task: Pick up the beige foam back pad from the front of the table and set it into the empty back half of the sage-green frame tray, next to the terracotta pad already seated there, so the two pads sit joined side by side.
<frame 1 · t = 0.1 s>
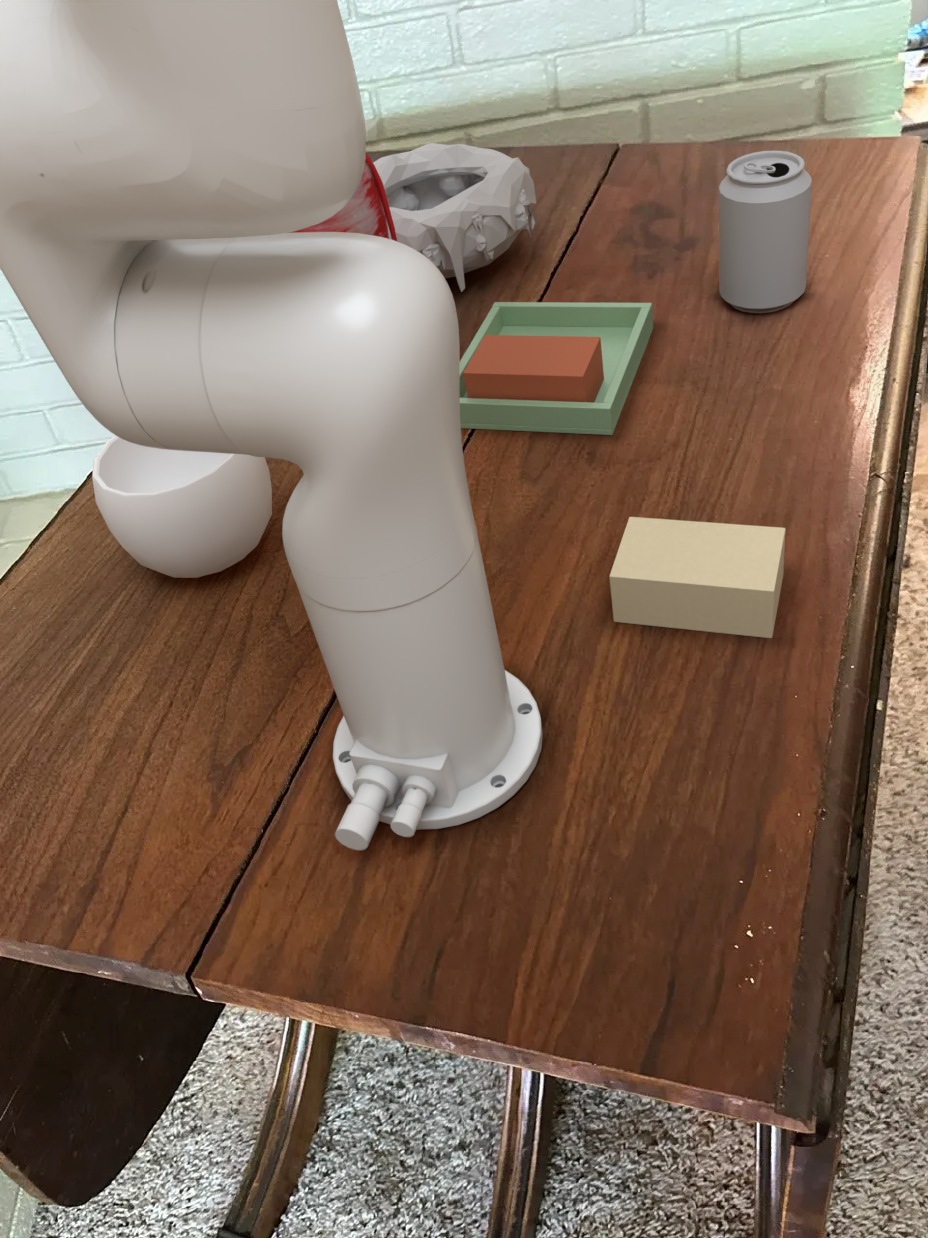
cup: (213, 553, 83), on the table
pad beige: (698, 598, 71), on the table
frame: (550, 376, 93), on the table
bowl: (442, 269, 112), on the table
can: (762, 298, 97), on the table
pad terracotta: (537, 396, 90), resting on frame
water bottle: (368, 410, 95), on the table
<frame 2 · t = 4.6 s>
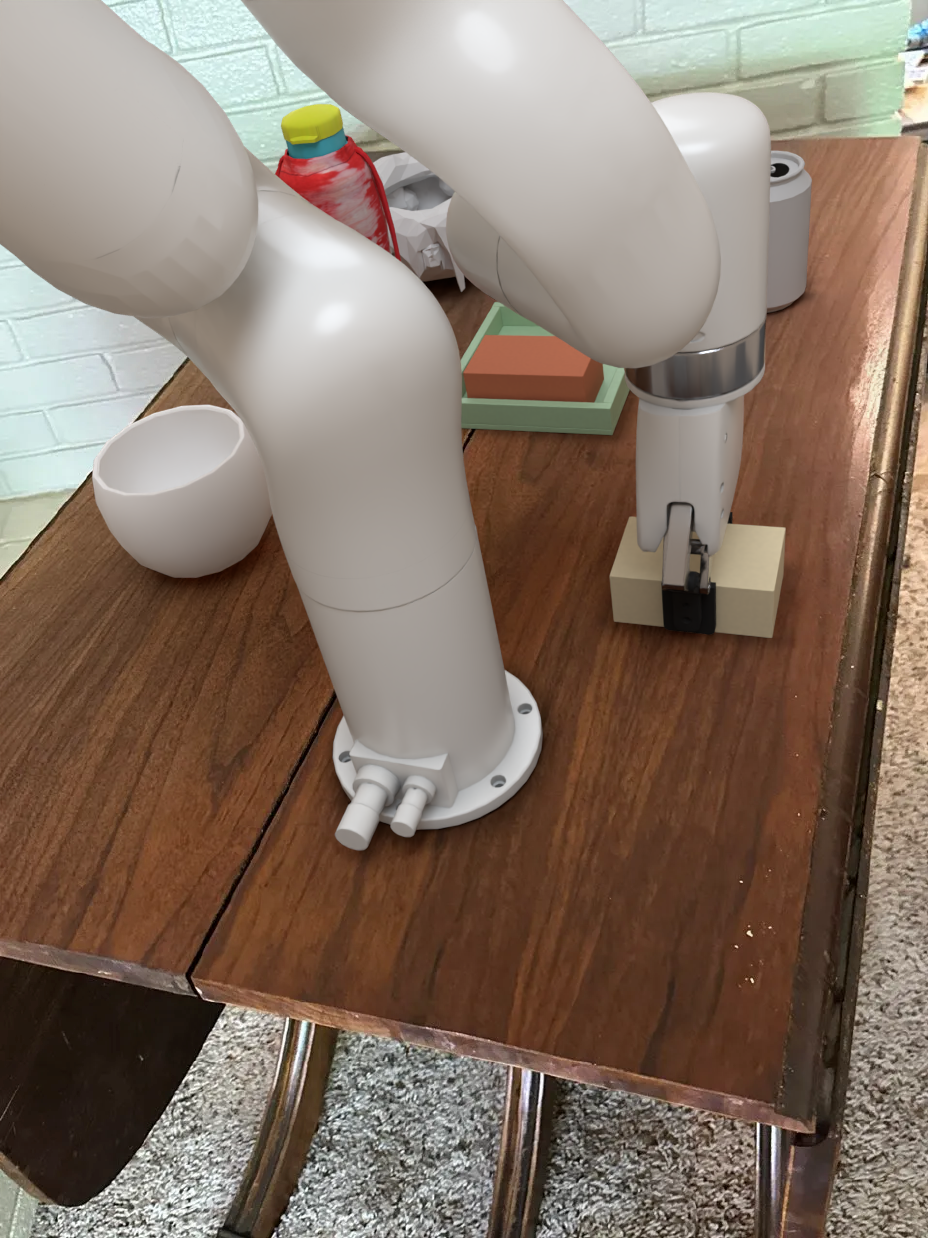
hand: (698, 591, 70), 1 cm above the table, tool pointing down, fingers closed on pad beige, 6 cm apart
pad beige: (698, 598, 71), on the table, touching gripper
everything else where it was.
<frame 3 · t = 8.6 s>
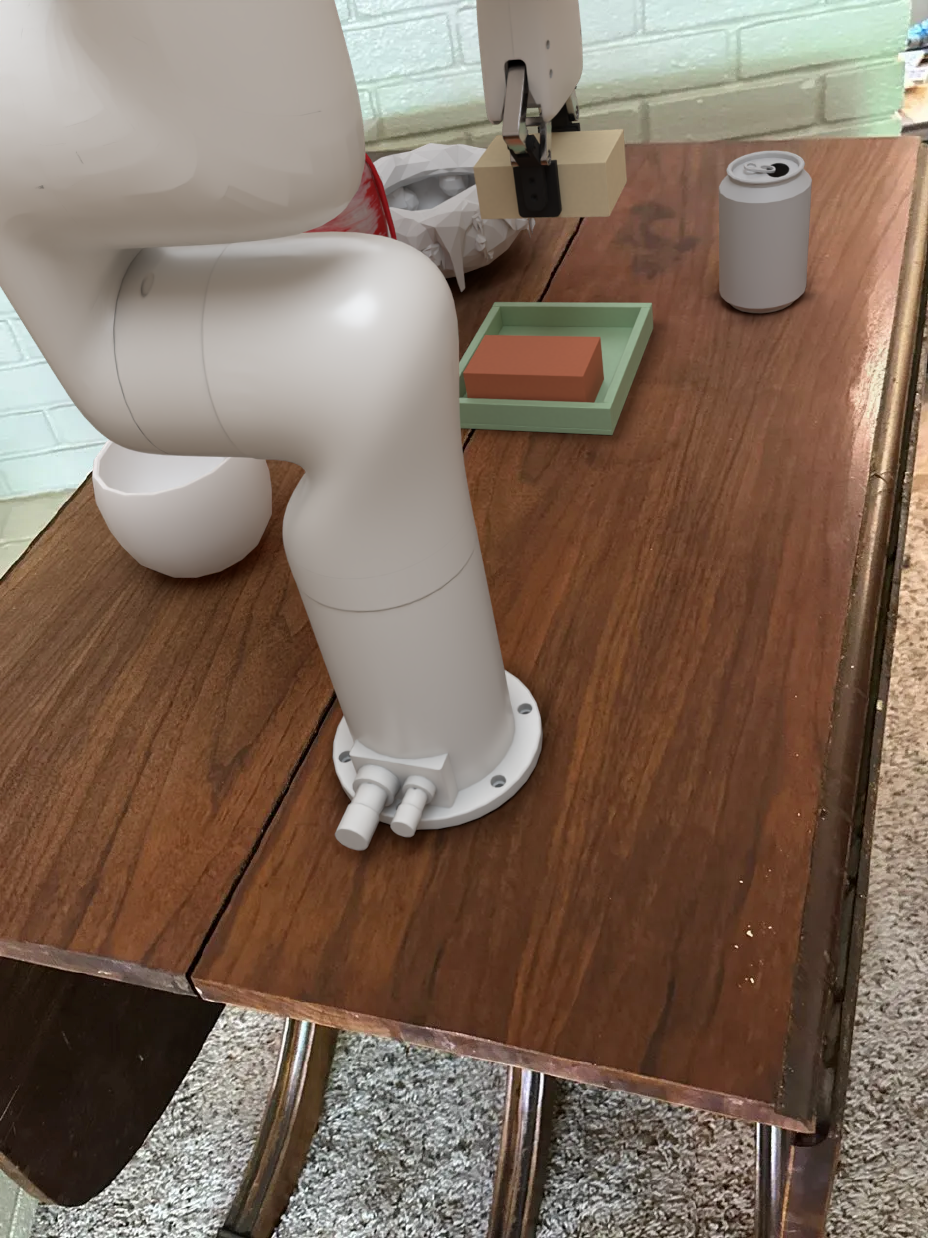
hand: (552, 193, 83), 16 cm above the table, tool pointing down, fingers closed on pad beige, 6 cm apart
pad beige: (554, 200, 83), point 15 cm above the table, touching gripper
everything else where it was.
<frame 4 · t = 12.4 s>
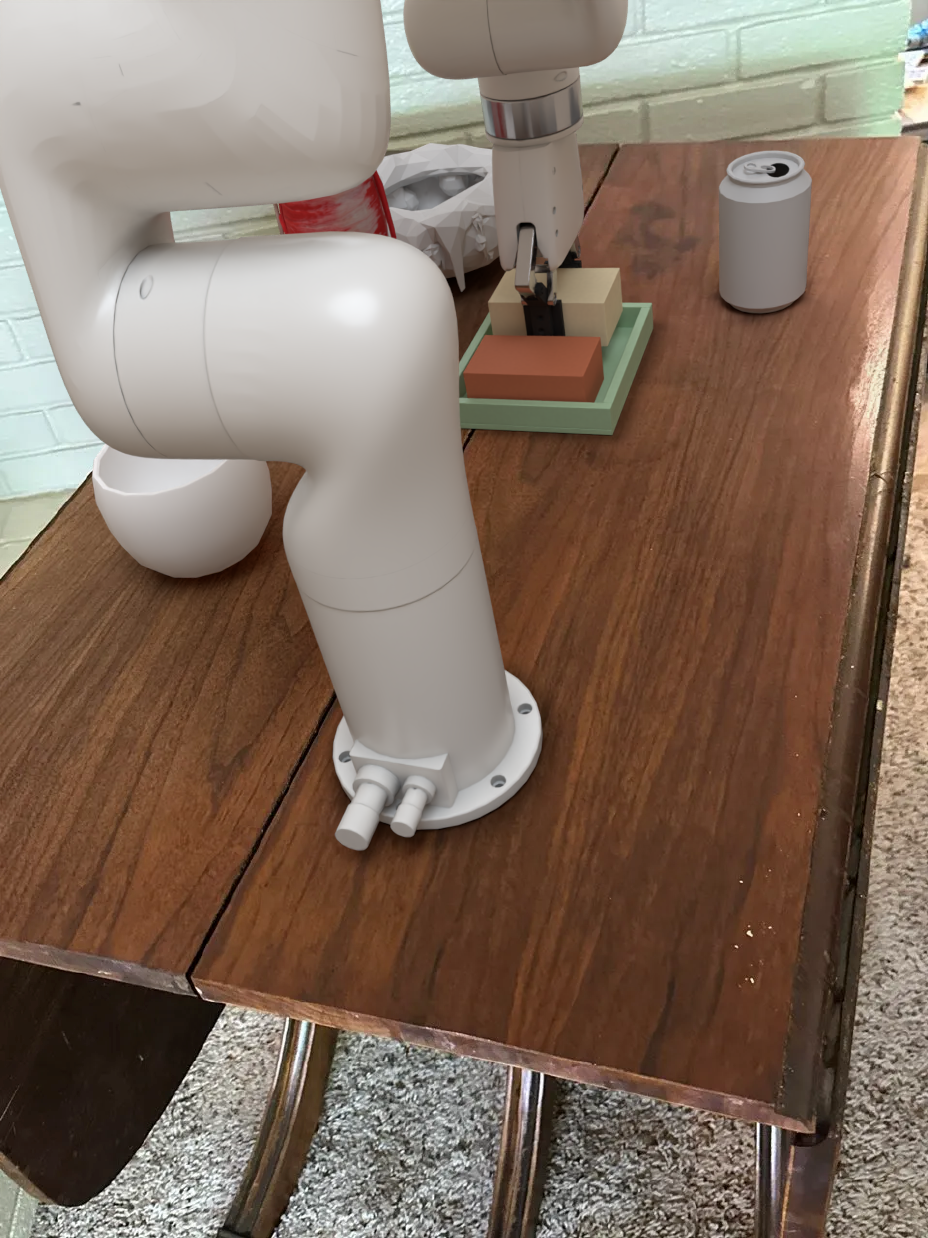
hand: (557, 321, 94), 3 cm above the table, tool pointing down, fingers closed on pad beige, 6 cm apart
pad beige: (558, 327, 94), point 3 cm above the table, touching gripper
pad terracotta: (537, 396, 90), resting on frame, touching gripper
everything else where it was.
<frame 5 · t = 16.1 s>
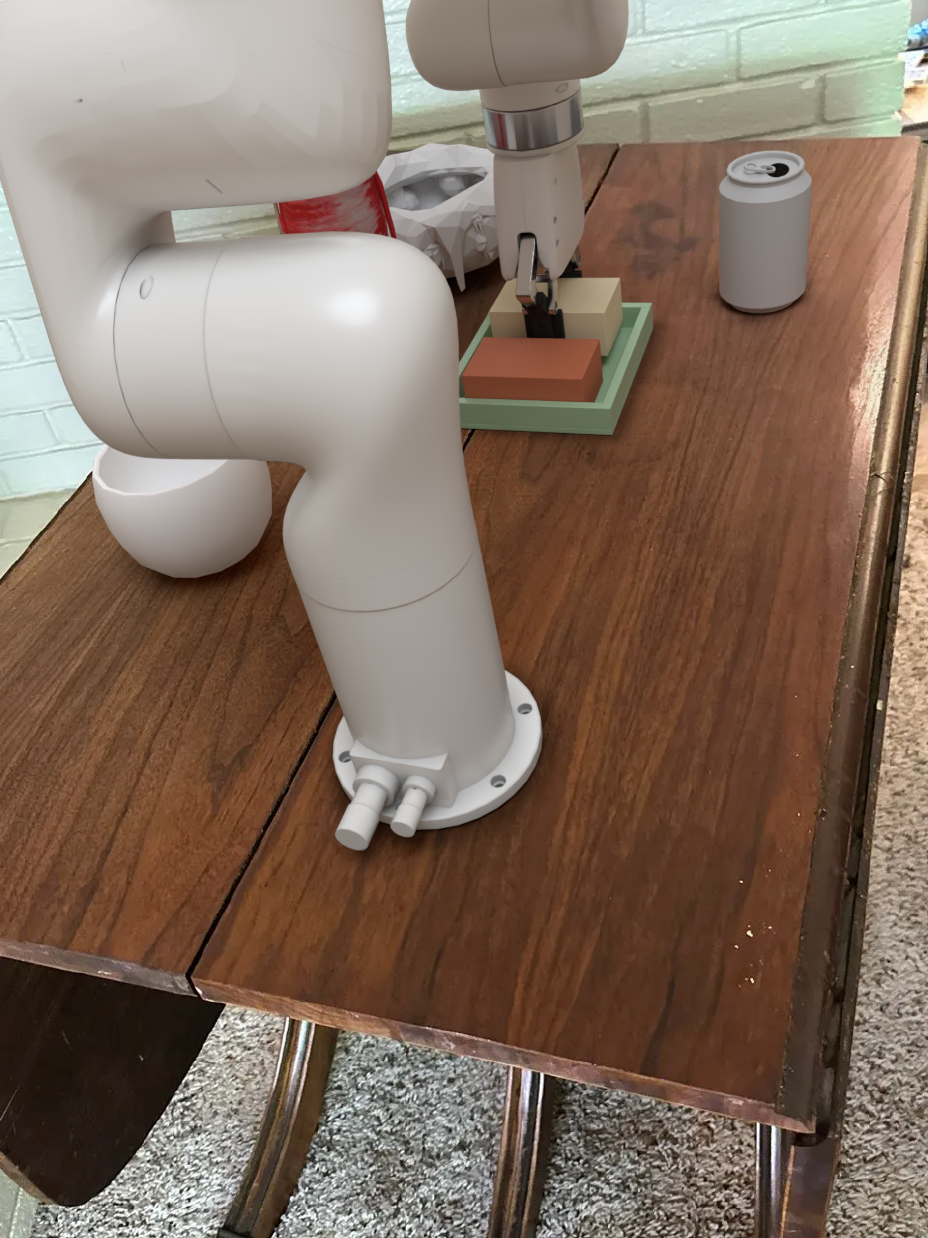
hand: (557, 330, 94), 2 cm above the table, tool pointing down, fingers closed on pad beige, 5 cm apart
pad beige: (559, 336, 94), point 2 cm above the table, touching gripper
everything else where it was.
when the fingers open (3 cm above the table, at t = 19.7 s): pad beige drops 2 cm, resting on frame.
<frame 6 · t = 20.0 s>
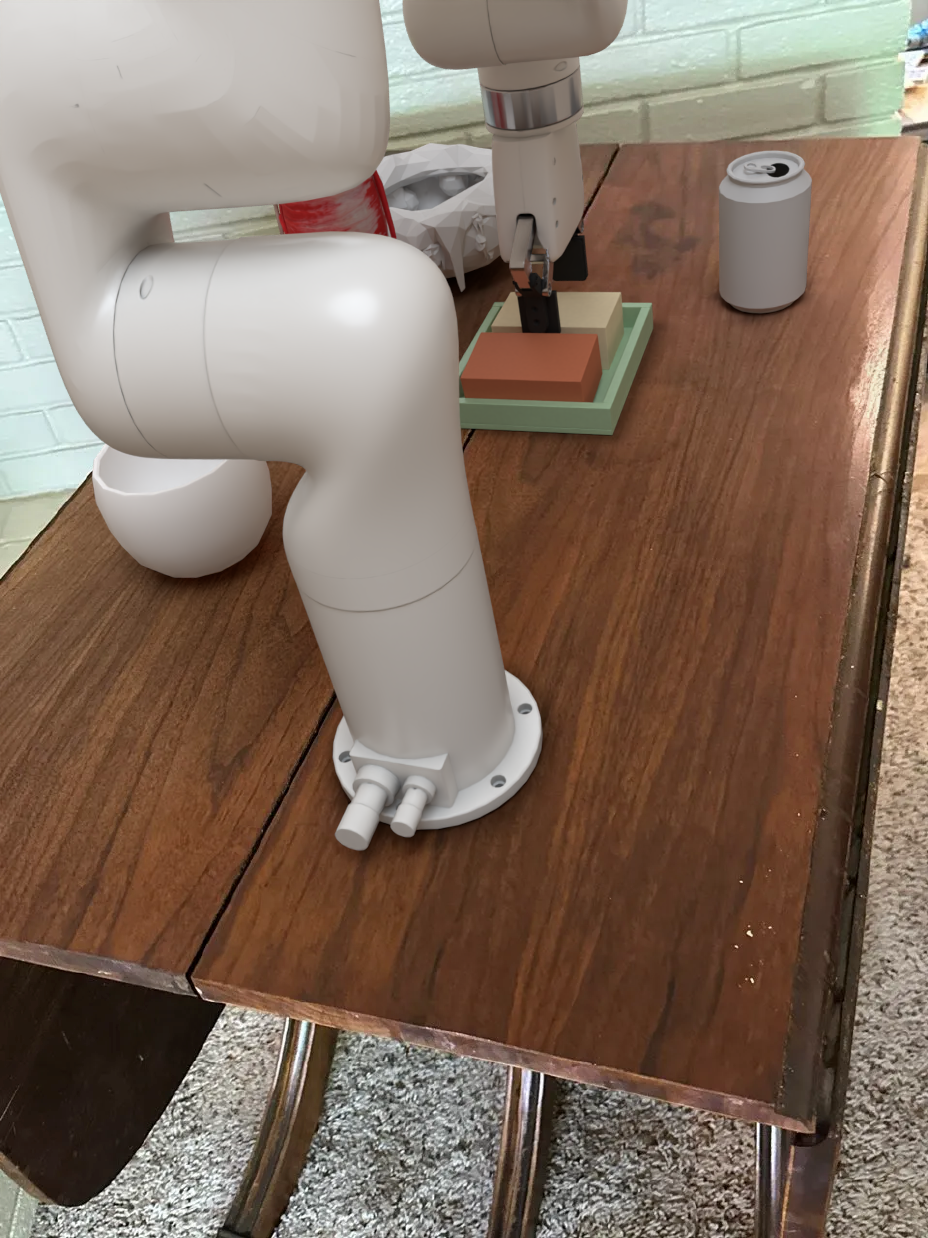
hand: (556, 306, 93), 4 cm above the table, tool pointing down, fingers open, 9 cm apart
pad beige: (561, 350, 95), resting on frame
pad terracotta: (536, 394, 90), point 1 cm above the table, tilted 7°, touching frame, gripper
everything else where it was.
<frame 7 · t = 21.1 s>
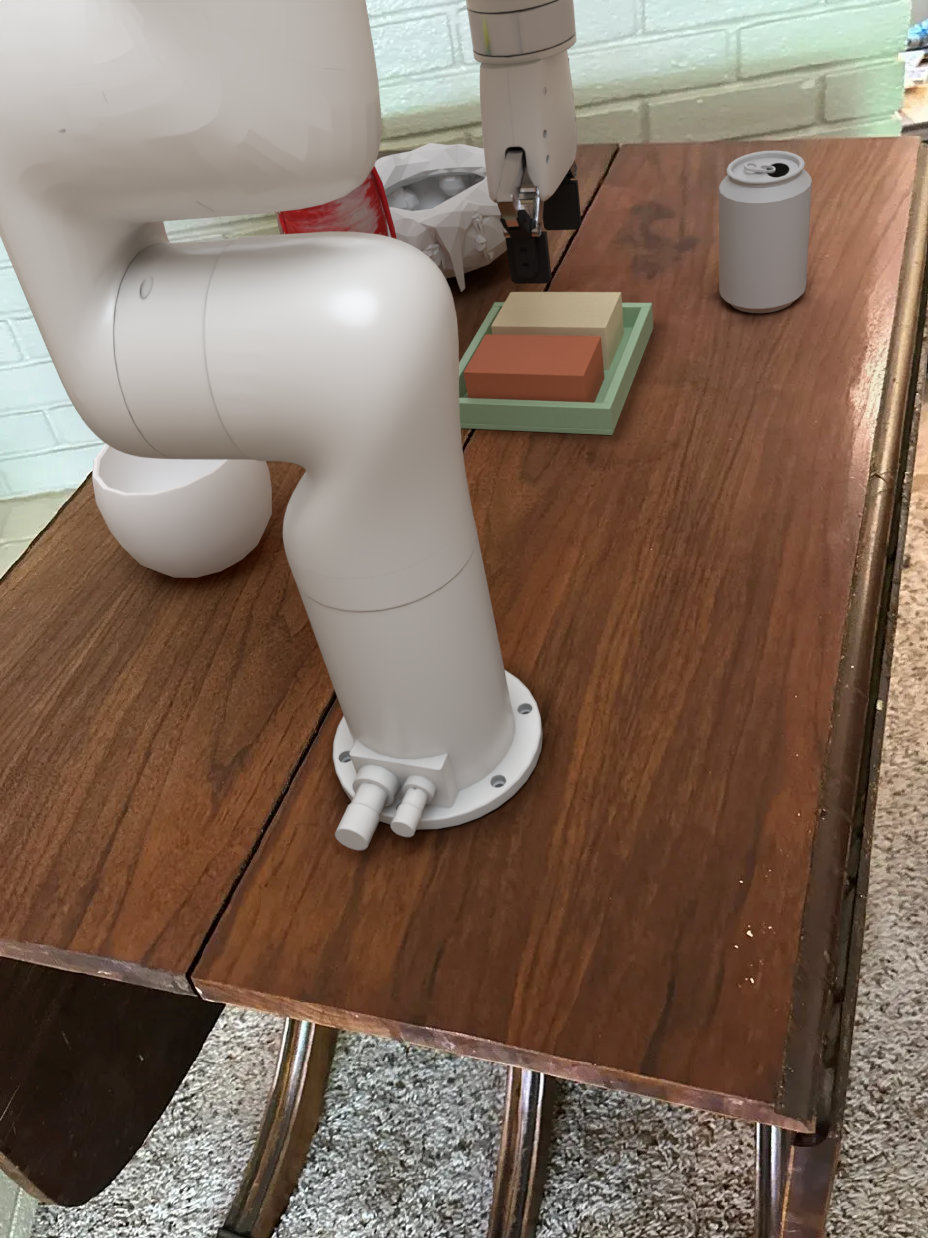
hand: (547, 254, 89), 10 cm above the table, tool pointing down, fingers open, 9 cm apart
pad terracotta: (538, 396, 91), resting on frame
everything else where it was.
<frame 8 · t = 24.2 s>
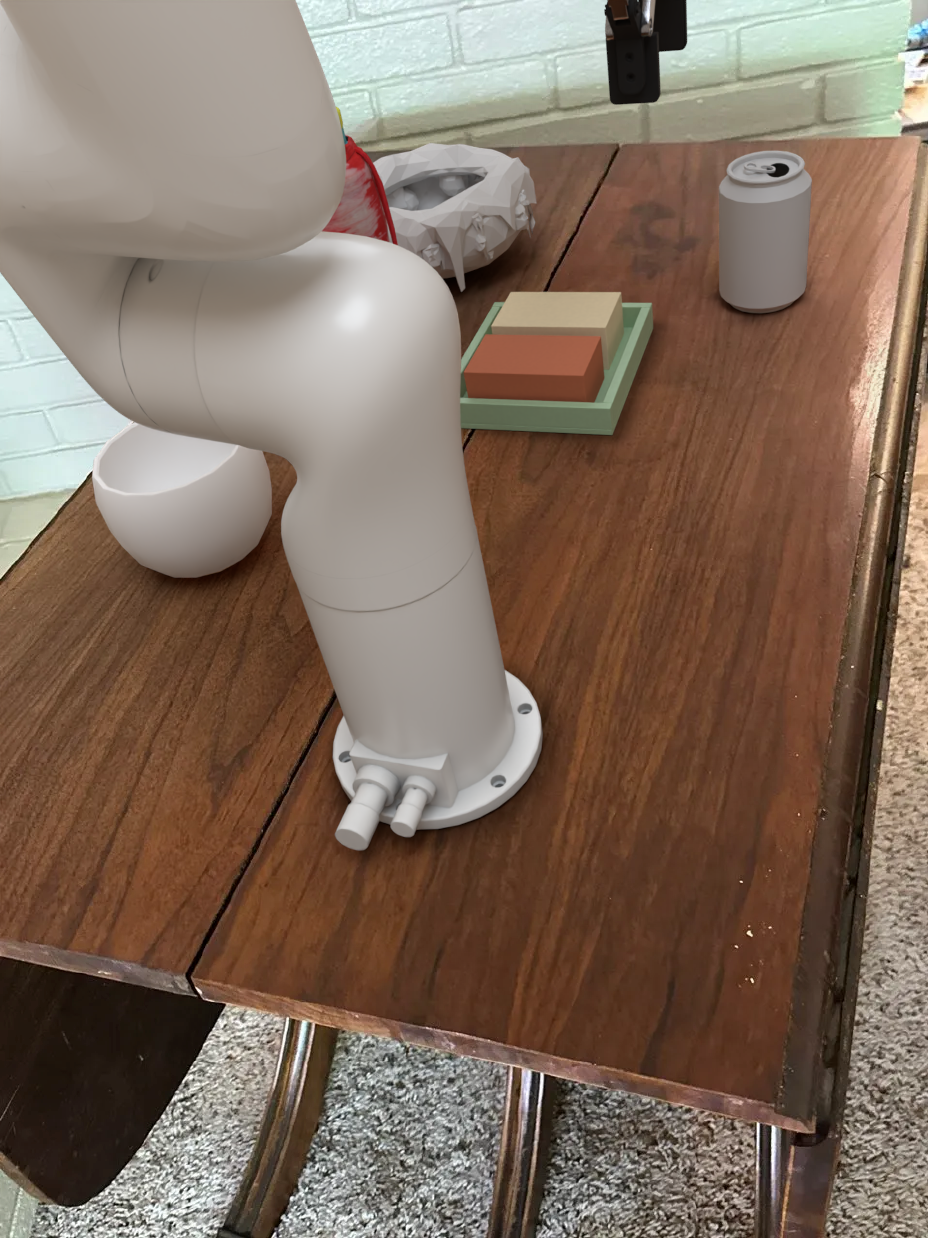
hand: (650, 74, 73), 24 cm above the table, tool pointing down, fingers open, 9 cm apart
nothing on the table moved.
at the end: pad beige 0.4 cm from the target spot in the frame, point 0.5 cm above the frame's base; pad beige tilted 0°; pad terracotta moved 0.1 cm from its start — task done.
